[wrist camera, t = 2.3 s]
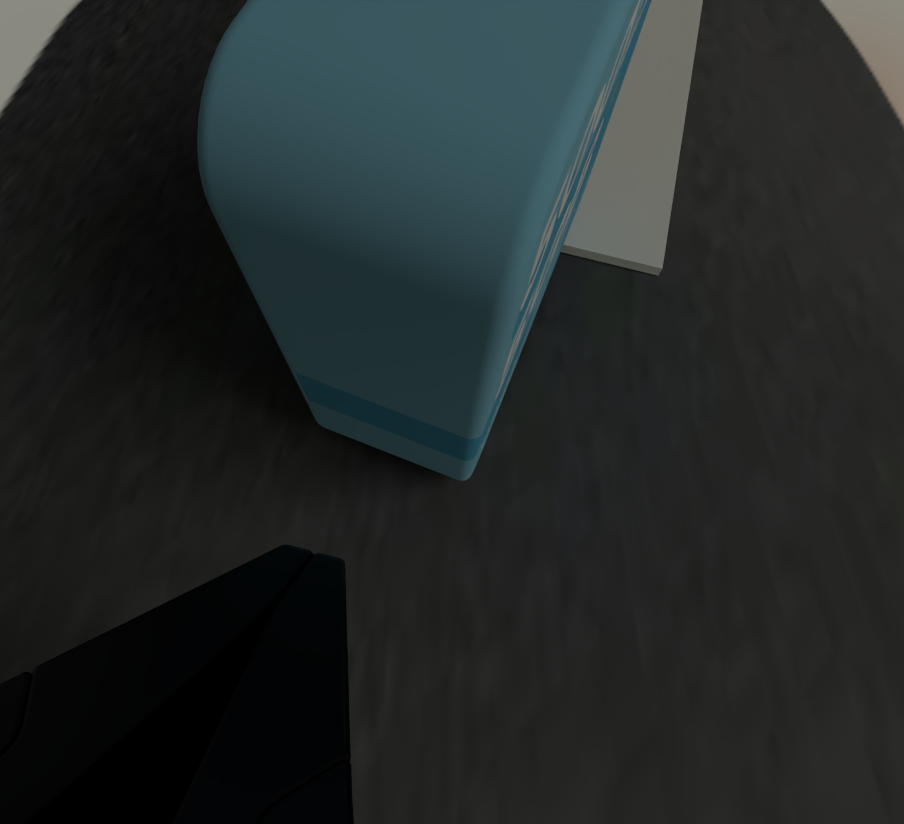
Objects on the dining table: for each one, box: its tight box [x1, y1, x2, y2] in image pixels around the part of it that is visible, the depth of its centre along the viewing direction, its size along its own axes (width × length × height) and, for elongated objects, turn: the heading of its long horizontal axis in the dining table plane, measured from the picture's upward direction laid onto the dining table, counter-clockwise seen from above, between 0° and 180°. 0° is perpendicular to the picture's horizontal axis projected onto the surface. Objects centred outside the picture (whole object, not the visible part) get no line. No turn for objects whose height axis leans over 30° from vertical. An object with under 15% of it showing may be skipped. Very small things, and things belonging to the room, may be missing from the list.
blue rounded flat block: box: [197, 0, 651, 481], centre depth 14 cm, size 12×4×12 cm, turn 159°
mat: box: [561, 0, 703, 276], centre depth 24 cm, size 16×14×1 cm
